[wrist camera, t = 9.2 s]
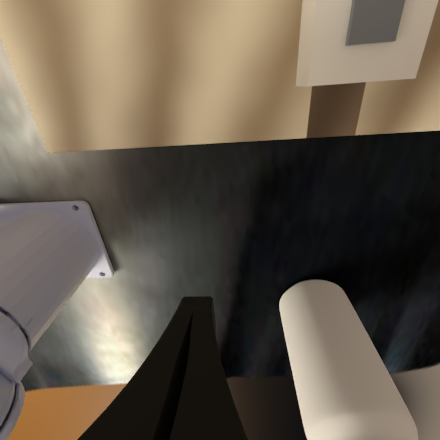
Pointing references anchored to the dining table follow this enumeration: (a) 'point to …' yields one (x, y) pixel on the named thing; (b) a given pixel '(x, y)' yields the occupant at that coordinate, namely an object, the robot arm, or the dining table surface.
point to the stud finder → (362, 40)
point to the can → (339, 369)
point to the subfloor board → (193, 75)
